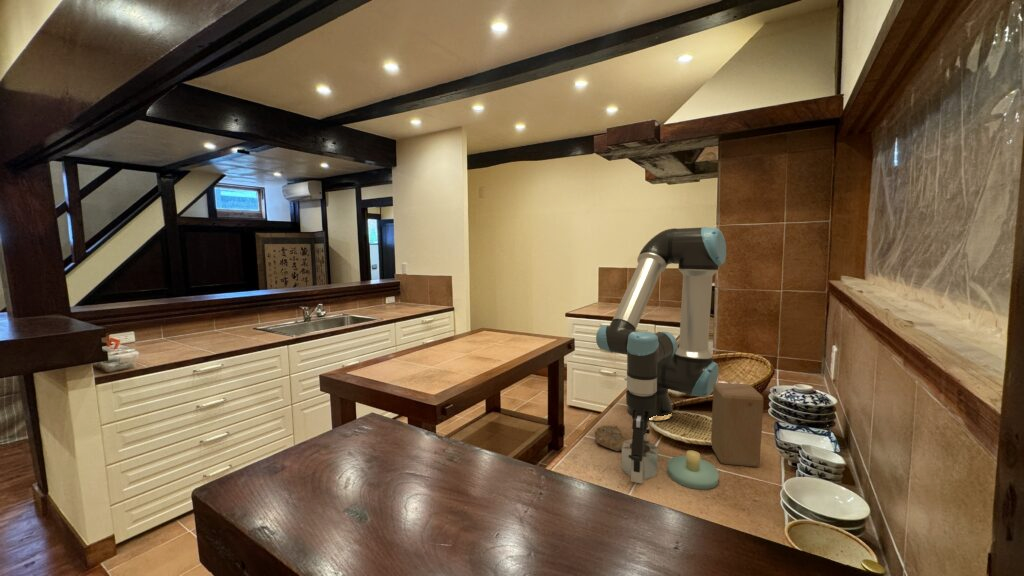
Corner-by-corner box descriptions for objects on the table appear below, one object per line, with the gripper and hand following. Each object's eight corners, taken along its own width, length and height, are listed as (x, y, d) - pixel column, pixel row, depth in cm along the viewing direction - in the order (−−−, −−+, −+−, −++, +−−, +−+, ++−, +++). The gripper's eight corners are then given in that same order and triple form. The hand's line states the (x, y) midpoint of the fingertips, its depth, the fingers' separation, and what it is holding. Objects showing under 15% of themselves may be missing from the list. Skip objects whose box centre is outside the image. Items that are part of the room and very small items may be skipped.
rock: (589, 439, 123) (603, 449, 113) (593, 420, 123) (606, 428, 114) (615, 443, 124) (630, 454, 114) (618, 424, 125) (634, 433, 115)
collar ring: (624, 457, 112) (624, 437, 111) (657, 463, 108) (658, 442, 108) (620, 474, 104) (620, 452, 103) (655, 481, 100) (656, 459, 99)
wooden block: (760, 468, 105) (765, 396, 103) (720, 464, 107) (723, 394, 105) (746, 449, 115) (750, 383, 113) (709, 446, 117) (712, 381, 115)
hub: (668, 459, 110) (668, 438, 110) (716, 468, 106) (717, 446, 105) (666, 483, 100) (667, 460, 99) (720, 494, 95) (721, 470, 94)
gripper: (631, 374, 116) (630, 444, 119) (619, 407, 94) (618, 491, 96) (658, 378, 113) (656, 448, 116) (653, 412, 91) (650, 498, 93)
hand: (639, 468), depth 106 cm, fingers open, 12 cm apart
